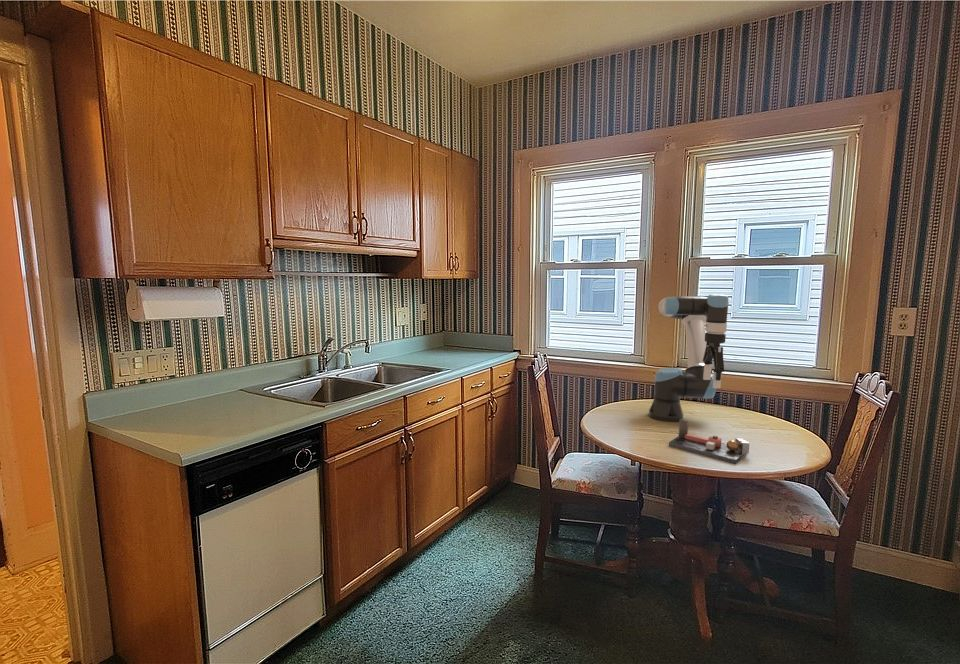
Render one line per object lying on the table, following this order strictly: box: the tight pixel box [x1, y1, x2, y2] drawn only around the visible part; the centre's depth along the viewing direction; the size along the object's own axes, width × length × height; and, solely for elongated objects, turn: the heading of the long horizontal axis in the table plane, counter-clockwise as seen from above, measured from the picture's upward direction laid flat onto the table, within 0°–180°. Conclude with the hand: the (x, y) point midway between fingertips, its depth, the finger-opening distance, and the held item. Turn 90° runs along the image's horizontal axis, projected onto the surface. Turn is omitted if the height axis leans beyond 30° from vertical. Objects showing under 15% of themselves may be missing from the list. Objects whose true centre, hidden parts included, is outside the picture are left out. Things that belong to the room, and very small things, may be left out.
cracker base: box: [668, 435, 750, 465], centre depth 174 cm, size 26×14×6 cm, turn 45°
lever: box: [678, 418, 722, 450], centre depth 177 cm, size 16×9×7 cm, turn 45°
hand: (711, 383), depth 186 cm, fingers open, 13 cm apart
